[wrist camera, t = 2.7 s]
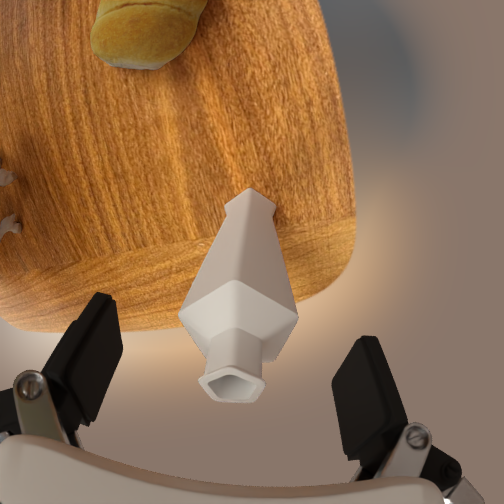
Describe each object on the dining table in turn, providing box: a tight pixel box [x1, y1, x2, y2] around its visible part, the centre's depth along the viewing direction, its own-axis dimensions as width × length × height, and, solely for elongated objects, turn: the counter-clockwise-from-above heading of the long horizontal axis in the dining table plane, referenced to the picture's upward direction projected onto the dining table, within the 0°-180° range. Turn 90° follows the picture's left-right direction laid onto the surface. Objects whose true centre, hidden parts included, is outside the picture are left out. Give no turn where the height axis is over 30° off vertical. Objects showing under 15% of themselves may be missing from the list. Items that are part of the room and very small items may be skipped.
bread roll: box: [90, 0, 208, 70], centre depth 12 cm, size 8×9×4 cm
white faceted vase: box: [178, 188, 299, 403], centre depth 15 cm, size 5×4×15 cm
